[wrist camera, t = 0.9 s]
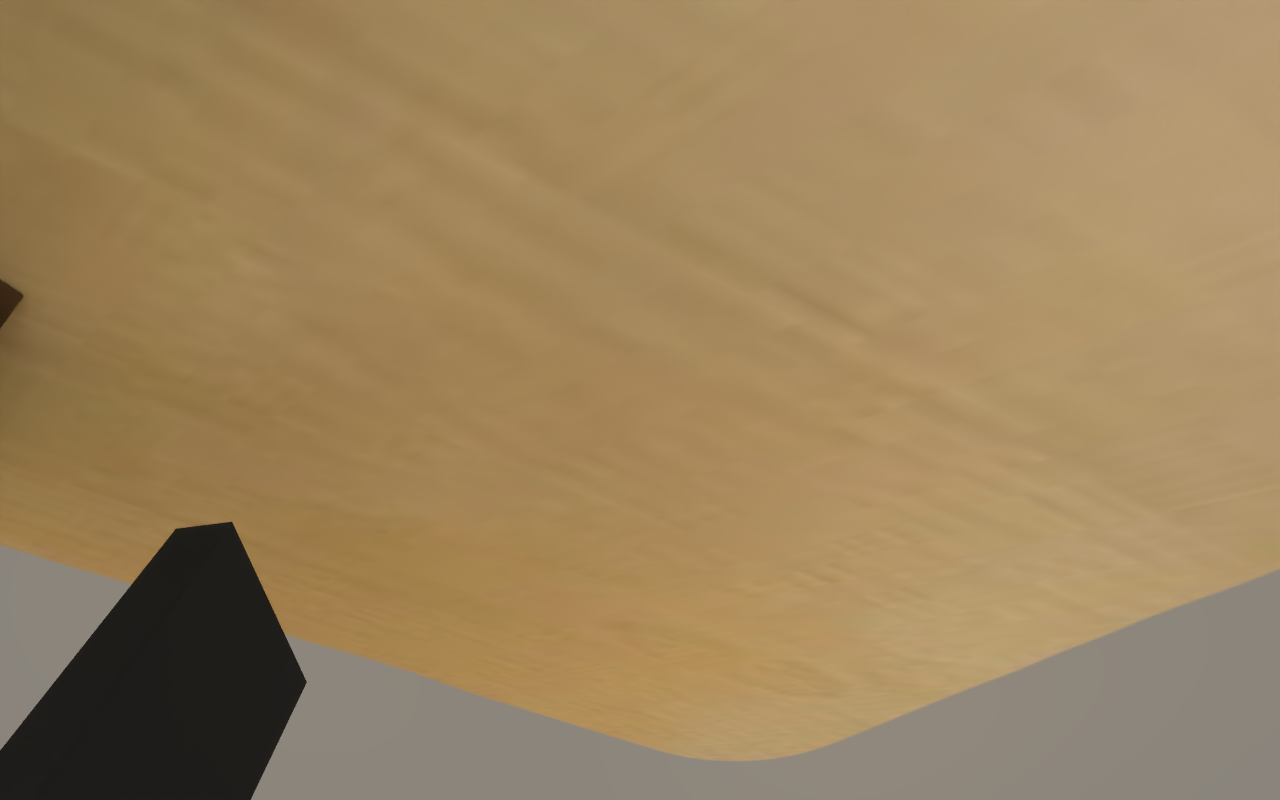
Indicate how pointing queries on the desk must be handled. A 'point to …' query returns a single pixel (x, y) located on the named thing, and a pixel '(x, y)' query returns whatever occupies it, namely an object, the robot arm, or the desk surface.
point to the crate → (7, 301)
